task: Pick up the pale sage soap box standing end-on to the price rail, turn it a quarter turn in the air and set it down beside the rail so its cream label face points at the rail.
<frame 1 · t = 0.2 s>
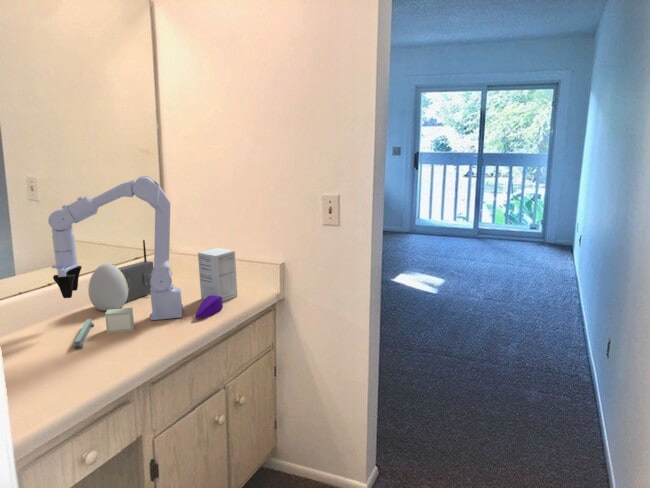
hand: (70, 294, 153), 10 cm above the worktop, tool pointing down, fingers open, 7 cm apart
decorative egg: (110, 307, 172), on the worktop, touching electronic device
electronic device: (135, 298, 181), on the worktop, touching decorative egg
soap box: (120, 329, 151), on the worktop
crystal: (209, 314, 164), on the worktop
supplement box: (219, 298, 181), on the worktop
price rail: (84, 336, 146), on the worktop
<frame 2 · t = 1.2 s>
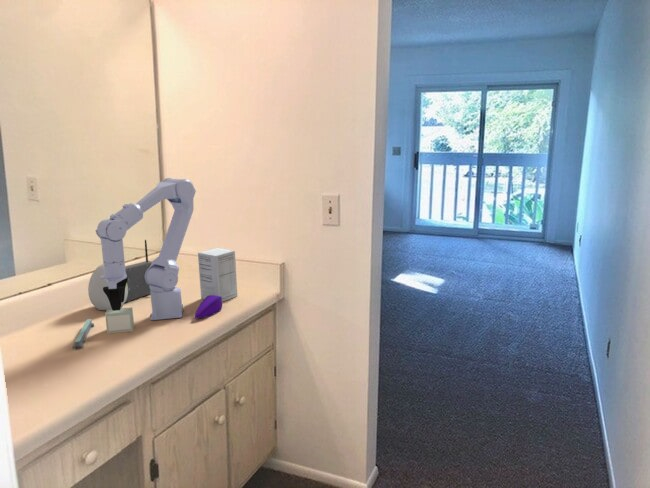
hand: (118, 306, 150), 7 cm above the worktop, tool pointing down, fingers open, 7 cm apart
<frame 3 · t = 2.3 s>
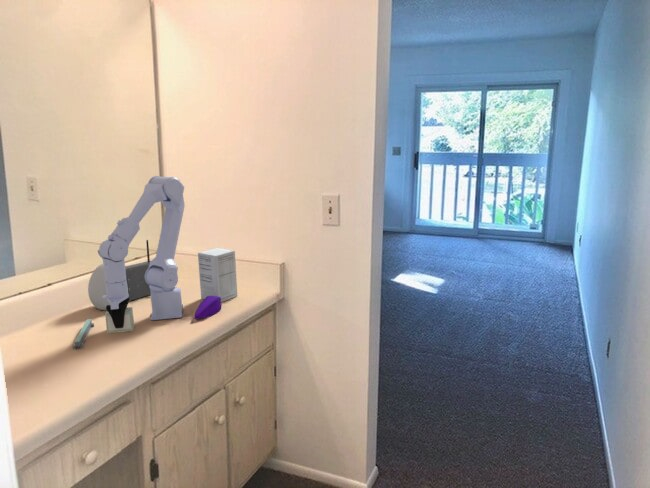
hand: (120, 325, 151), 1 cm above the worktop, tool pointing down, fingers closed on soap box, 4 cm apart
soap box: (120, 329, 151), on the worktop, touching gripper
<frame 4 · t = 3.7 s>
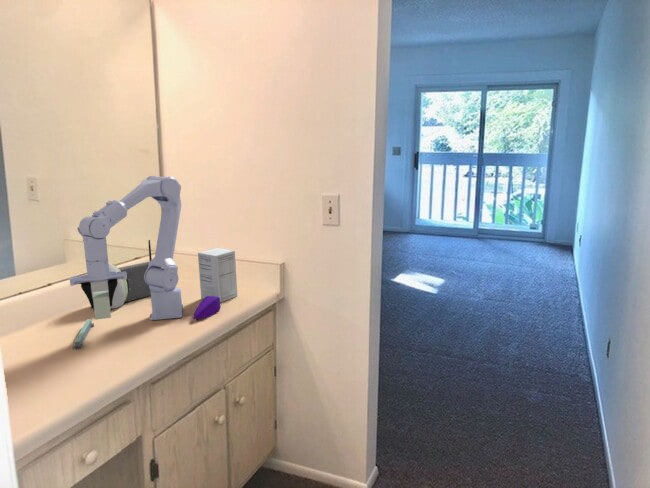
hand: (101, 306, 144), 9 cm above the worktop, tool pointing down, fingers closed on soap box, 4 cm apart
soap box: (102, 314, 145), point 7 cm above the worktop, touching gripper
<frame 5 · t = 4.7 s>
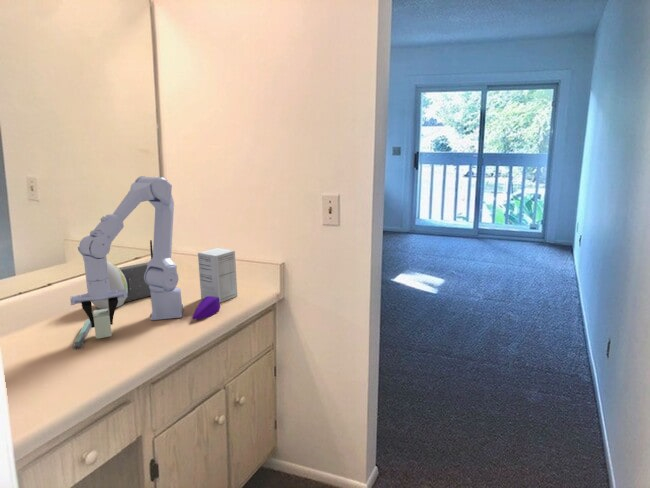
hand: (102, 324, 145), 4 cm above the worktop, tool pointing down, fingers closed on soap box, 4 cm apart
soap box: (103, 333, 145), point 1 cm above the worktop, touching gripper
when the fingers open (3 cm above the worktop, at t = 5.3 s): soap box stays where it is, on the worktop.
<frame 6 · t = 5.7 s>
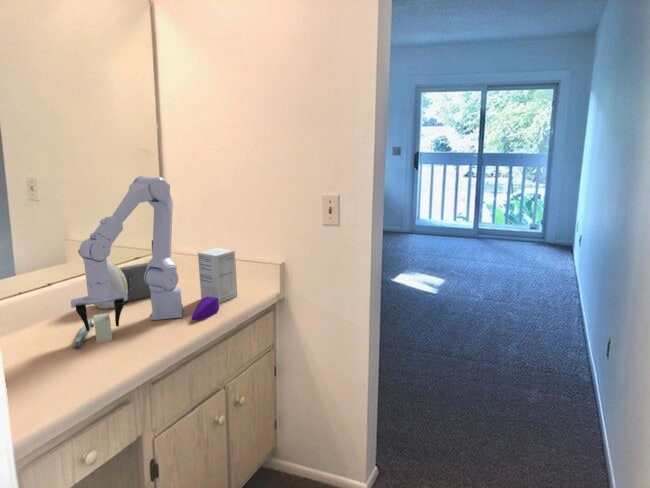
hand: (102, 327, 145), 3 cm above the worktop, tool pointing down, fingers open, 7 cm apart
soap box: (104, 337, 146), on the worktop
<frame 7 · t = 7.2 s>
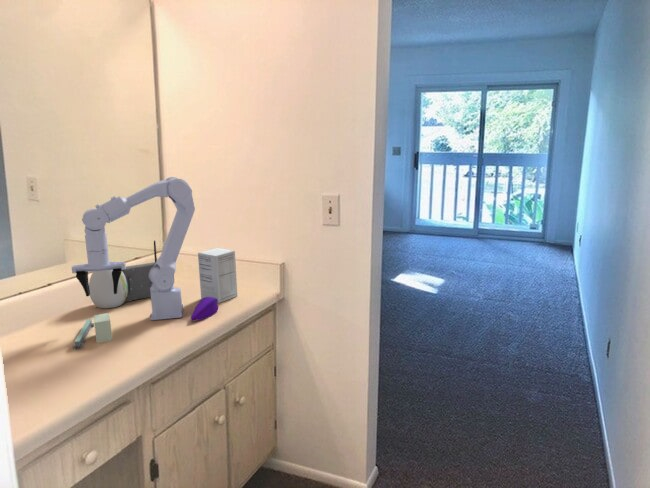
hand: (102, 294, 153), 10 cm above the worktop, tool pointing down, fingers open, 7 cm apart
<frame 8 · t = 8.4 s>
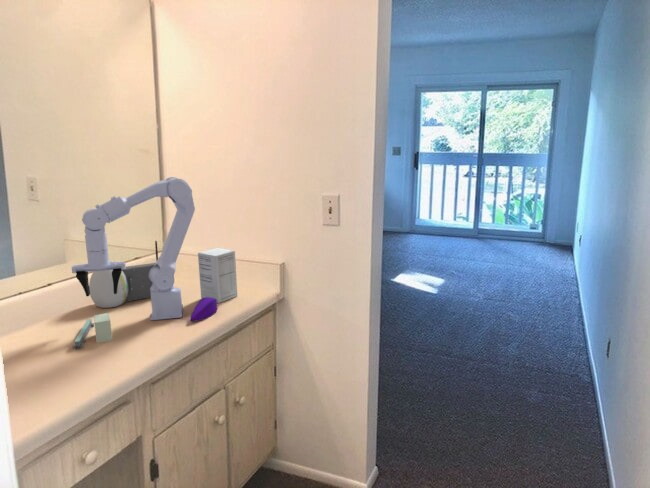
hand: (102, 294, 153), 10 cm above the worktop, tool pointing down, fingers open, 7 cm apart
electronic device: (142, 298, 181), on the worktop, touching decorative egg
at the end: soap box inside the target area (0.4 cm from its centre), on the worktop; soap box tilted 0°; soap box touching worktop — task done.
